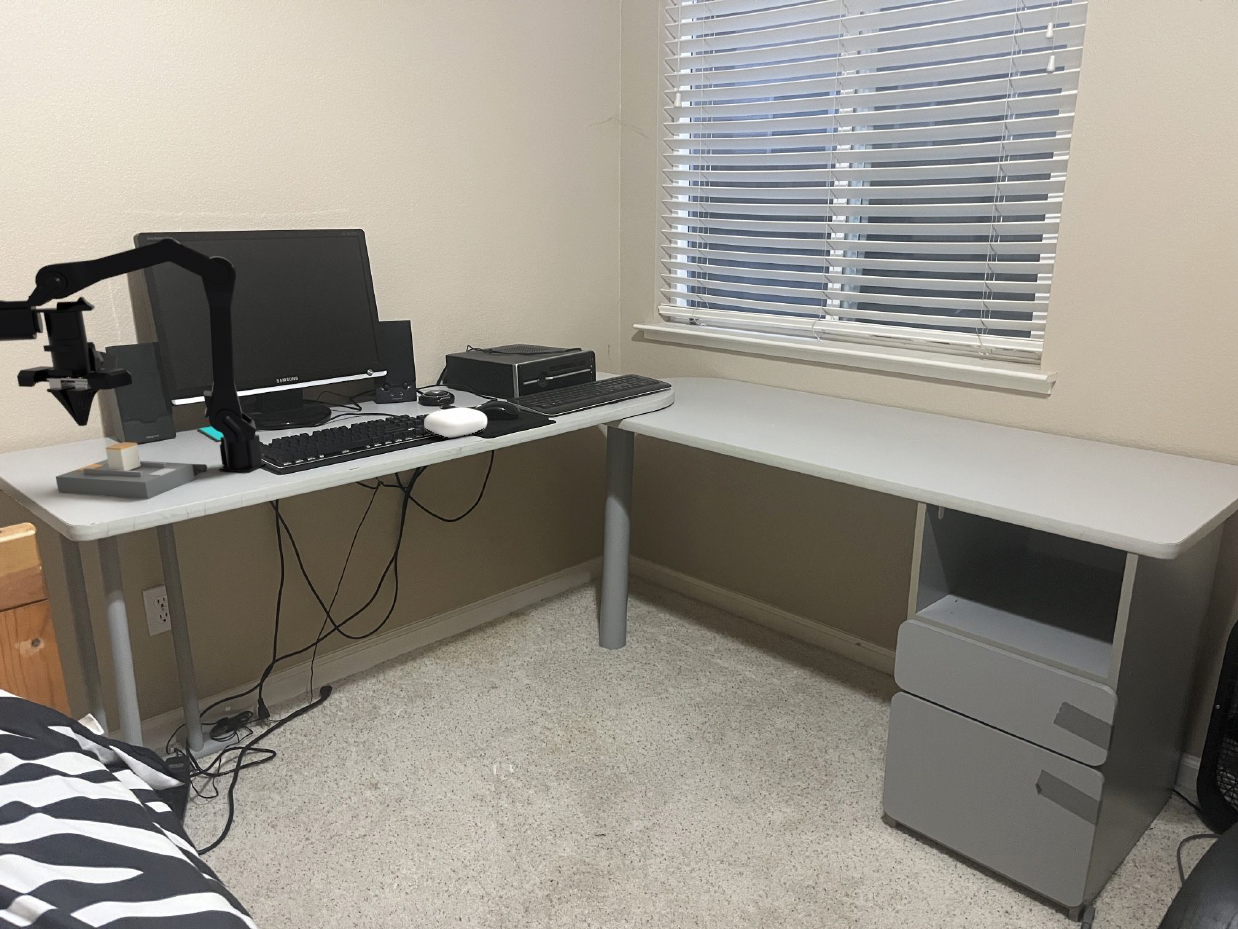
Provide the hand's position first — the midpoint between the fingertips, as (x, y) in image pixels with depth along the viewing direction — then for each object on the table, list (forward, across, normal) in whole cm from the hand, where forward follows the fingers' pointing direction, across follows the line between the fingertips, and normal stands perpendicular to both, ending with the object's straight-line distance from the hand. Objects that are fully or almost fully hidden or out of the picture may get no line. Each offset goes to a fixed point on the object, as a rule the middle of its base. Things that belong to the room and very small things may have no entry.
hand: (82, 425), depth 155 cm
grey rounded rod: (+11, -7, -9) cm, 16 cm away
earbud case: (+12, -50, -50) cm, 72 cm away
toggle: (+8, -7, 0) cm, 11 cm away
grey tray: (+11, -7, 0) cm, 13 cm away
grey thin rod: (+11, -8, -11) cm, 17 cm away
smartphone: (+12, +2, -40) cm, 42 cm away
